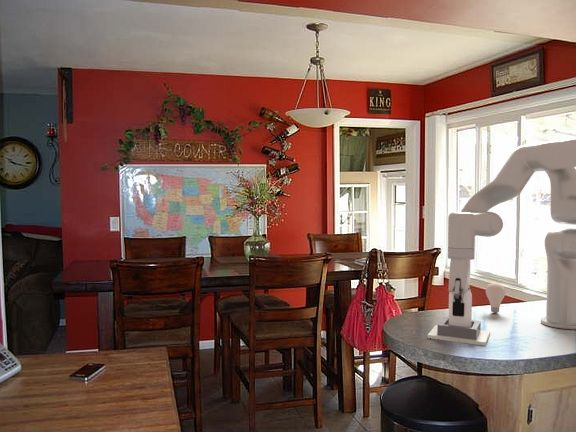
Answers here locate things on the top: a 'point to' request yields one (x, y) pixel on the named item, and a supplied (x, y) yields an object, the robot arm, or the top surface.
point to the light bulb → (495, 296)
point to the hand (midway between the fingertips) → (460, 312)
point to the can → (467, 317)
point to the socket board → (460, 333)
